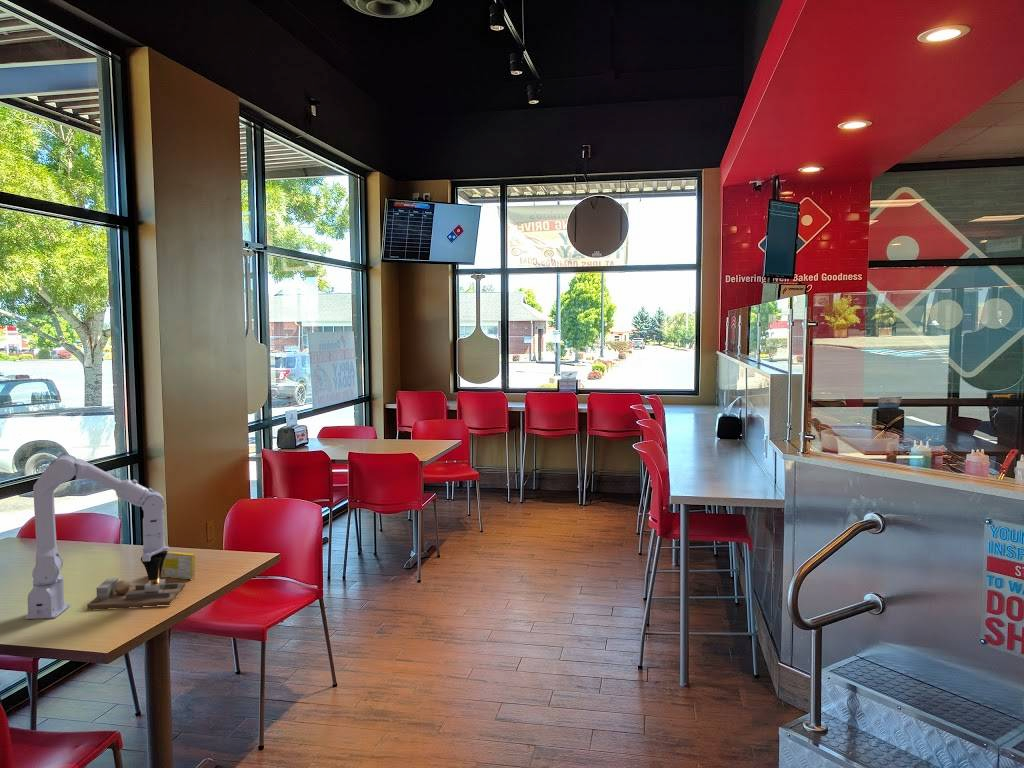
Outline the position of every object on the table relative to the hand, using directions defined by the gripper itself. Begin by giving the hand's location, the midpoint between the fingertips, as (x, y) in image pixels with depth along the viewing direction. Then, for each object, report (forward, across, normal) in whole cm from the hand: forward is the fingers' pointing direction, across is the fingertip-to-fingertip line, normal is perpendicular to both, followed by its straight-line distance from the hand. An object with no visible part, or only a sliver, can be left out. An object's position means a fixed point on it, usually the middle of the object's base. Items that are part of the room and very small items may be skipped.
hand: (154, 577), depth 217 cm
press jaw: (+4, 0, 0) cm, 4 cm away
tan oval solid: (+2, 0, +9) cm, 10 cm away
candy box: (+6, +19, +1) cm, 20 cm away
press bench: (+6, 0, +5) cm, 8 cm away
